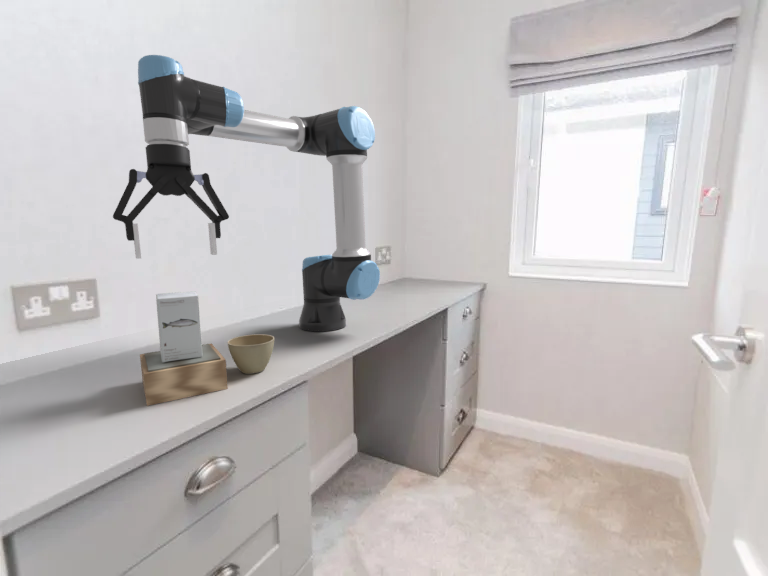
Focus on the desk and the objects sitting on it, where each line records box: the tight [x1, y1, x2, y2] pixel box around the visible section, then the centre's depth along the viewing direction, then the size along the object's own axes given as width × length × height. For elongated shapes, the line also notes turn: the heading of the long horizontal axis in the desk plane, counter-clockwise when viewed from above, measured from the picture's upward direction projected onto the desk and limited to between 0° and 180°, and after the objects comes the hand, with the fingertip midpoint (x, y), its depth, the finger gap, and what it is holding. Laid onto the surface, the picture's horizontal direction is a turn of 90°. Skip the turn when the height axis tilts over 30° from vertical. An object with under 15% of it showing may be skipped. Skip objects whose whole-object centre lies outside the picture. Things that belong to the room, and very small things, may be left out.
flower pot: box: [226, 333, 275, 375], centre depth 91 cm, size 10×10×7 cm
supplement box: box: [155, 291, 203, 363], centre depth 81 cm, size 7×7×13 cm
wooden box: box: [139, 343, 229, 407], centre depth 82 cm, size 14×14×6 cm
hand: (177, 256), depth 81 cm, fingers open, 13 cm apart
